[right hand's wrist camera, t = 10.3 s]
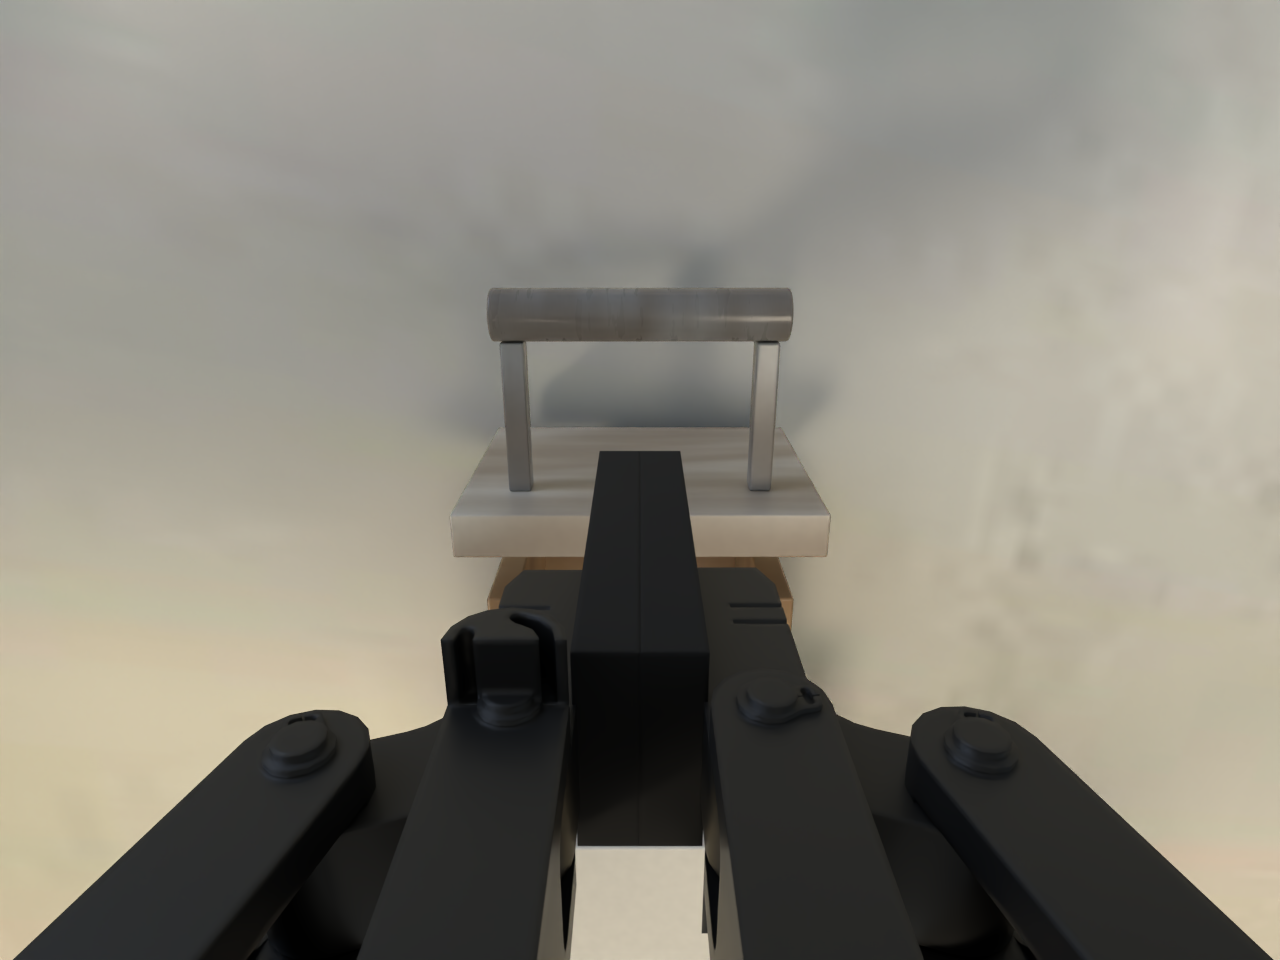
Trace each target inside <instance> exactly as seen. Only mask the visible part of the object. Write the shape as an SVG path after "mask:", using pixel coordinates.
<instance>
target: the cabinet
mask: <svg viewBox="0 0 1280 960" xmlns="http://www.w3.org/2000/svg"><path fill="white" fill-rule="evenodd" d="M575 859H576V884H577V885H576V897H575V909H574V920H573V932H572V944H571V955H570V960H710V954H709V942H708V933H702V909H703V884H704V859H705V845H704V834H703V845H702V846H578V845H577V838H576V849H575Z"/></svg>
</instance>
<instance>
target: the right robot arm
mask: <svg viewBox="0 0 1280 960" xmlns="http://www.w3.org/2000/svg"><path fill="white" fill-rule="evenodd" d="M441 647H442V656H443V665H444V674H445V684H446V693H447V702H448V706H447V709H446V711H445V714H444V717H443V718H442V719H440V720H438V721H436V722H434V723H431V724H429V725H427V726H425V727H421V728H418V729H415V730H411V731H408V732H404V733H399V734H395V735H390V736H386V737H381V738H376V739H372V740H370V736H369V730H368V728H367V727H366V726H365V725H364V723H363V722H362V721H361V720H360V719H359V718H358V717H356V716H354V715H351V714H348V713H345V712H342V711H339V710H313V711H308V712H303V713H298V714H293V715H289V716H287V717H285V718H282V719H280V720H278V721H275V722H273V723H271V724H268V725H266V726H264V727H263V728H261V729H260V730H259V731H257V732H256V733H255V734H253V735H252V736H250V737H249V738H248V739H246V740H245V741H244V742H243V743H242V744H240V745H239V746H238V747H237V748H236V749H235V750H234V751H233V752H232V753H231V754H230V755H229V756H228V757H227V758H226V759H225V760H224V761H222V762H221V763H220V764H219V765H218V766H217V767H216V768H215V769H214V770H213V771H212V772H211V773H210V774H209V775H208V776H207V777H206V778H205V779H203V780H202V781H201V782H200V783H199V784H198V785H197V786H196V787H195V788H194V789H193V790H192V791H191V792H190V793H189V794H188V795H187V796H186V797H184V798H183V799H182V800H181V801H180V802H179V803H178V804H177V805H176V806H175V807H174V808H173V809H172V810H171V811H170V812H169V813H168V814H166V815H165V816H164V817H163V818H162V819H161V820H160V821H159V822H158V823H157V824H156V825H155V826H154V827H153V828H152V829H151V830H150V831H149V832H147V833H146V834H145V835H144V836H143V837H142V838H141V839H140V840H139V841H138V842H137V843H136V844H135V845H134V846H133V847H132V848H131V849H129V850H128V851H127V852H126V853H125V854H124V855H123V856H122V857H121V858H120V859H119V860H118V861H117V862H116V863H115V864H114V865H113V866H112V867H110V868H109V869H108V870H107V871H106V872H105V873H104V874H103V875H102V876H101V877H100V878H99V879H98V880H97V881H96V882H95V883H94V884H92V885H91V886H90V887H89V888H88V889H87V890H86V891H85V892H84V893H83V894H82V895H81V896H80V897H79V898H78V899H77V900H76V901H75V902H73V903H72V904H71V905H70V906H69V907H68V908H67V909H66V910H65V911H64V912H63V913H62V914H61V915H60V916H59V917H58V918H57V919H55V920H54V921H53V922H52V923H51V924H50V925H49V926H48V927H47V928H46V929H45V930H44V931H43V932H42V933H41V934H40V935H39V936H38V937H36V938H35V939H34V940H33V941H32V942H31V943H30V944H29V945H28V946H27V947H26V948H25V949H24V950H23V951H22V952H21V953H20V954H18V955H17V956H16V957H15V958H14V959H13V960H570V955H571V944H572V932H573V920H574V909H575V897H576V885H577V884H576V859H575V849H576V838H577V845H578V846H702V845H703V834H704V845H705V859H704V884H703V909H702V933H708V942H709V954H710V960H1273V959H1272V958H1271V957H1270V956H1269V955H1268V954H1267V953H1266V952H1265V951H1263V950H1262V949H1261V948H1260V947H1259V946H1258V945H1257V944H1256V943H1255V942H1254V941H1253V940H1252V939H1251V938H1250V937H1249V936H1248V935H1246V934H1245V933H1244V932H1243V931H1242V930H1241V929H1240V928H1239V927H1238V926H1237V925H1236V924H1235V923H1234V922H1233V921H1232V920H1230V919H1229V918H1228V917H1227V916H1226V915H1225V914H1224V913H1223V912H1222V911H1221V910H1220V909H1219V908H1218V907H1217V906H1216V905H1214V904H1213V903H1212V902H1211V901H1210V900H1209V899H1208V898H1207V897H1206V896H1205V895H1204V894H1203V893H1202V892H1201V891H1200V890H1199V889H1197V888H1196V887H1195V886H1194V885H1193V884H1192V883H1191V882H1190V881H1189V880H1188V879H1187V878H1186V877H1185V876H1184V875H1183V874H1181V873H1180V872H1179V871H1178V870H1177V869H1176V868H1175V867H1174V866H1173V865H1172V864H1171V863H1170V862H1169V861H1168V860H1167V859H1166V858H1164V857H1163V856H1162V855H1161V854H1160V853H1159V852H1158V851H1157V850H1156V849H1155V848H1154V847H1153V846H1152V845H1151V844H1150V843H1148V842H1147V841H1146V840H1145V839H1144V838H1143V837H1142V836H1141V835H1140V834H1139V833H1138V832H1137V831H1136V830H1135V829H1134V828H1132V827H1131V826H1130V825H1129V824H1128V823H1127V822H1126V821H1125V820H1124V819H1123V818H1122V817H1121V816H1120V815H1119V814H1118V813H1117V812H1115V811H1114V810H1113V809H1112V808H1111V807H1110V806H1109V805H1108V804H1107V803H1106V802H1105V801H1104V800H1103V799H1102V798H1101V797H1099V796H1098V795H1097V794H1096V793H1095V792H1094V791H1093V790H1092V789H1091V788H1090V787H1089V786H1088V785H1087V784H1086V783H1085V782H1083V781H1082V780H1081V779H1080V778H1079V777H1078V776H1077V775H1076V774H1075V773H1074V772H1073V771H1072V770H1071V769H1070V768H1069V767H1068V766H1066V765H1065V764H1064V763H1063V762H1062V761H1061V760H1060V759H1059V758H1058V757H1057V756H1056V755H1055V754H1054V753H1053V752H1052V751H1050V750H1049V749H1048V748H1047V747H1046V746H1045V745H1044V744H1043V743H1042V742H1041V741H1040V740H1039V739H1038V738H1037V737H1035V736H1034V735H1032V734H1031V733H1030V732H1028V731H1027V730H1025V729H1024V728H1023V727H1021V726H1020V725H1019V724H1017V723H1016V722H1013V721H1011V720H1009V719H1006V718H1004V717H1002V716H999V715H997V714H995V713H992V712H989V711H984V710H980V709H975V708H970V707H965V706H964V707H940V708H937V709H934V710H932V711H929V712H926V713H923V714H922V715H921V716H920V717H919V718H918V719H917V721H916V722H915V723H914V724H913V725H912V730H911V736H910V737H909V736H905V735H900V734H896V733H891V732H886V731H882V730H877V729H873V728H870V727H866V726H863V725H859V724H856V723H853V722H851V721H849V720H847V719H845V718H843V717H841V716H838V715H837V714H836V713H835V710H834V708H833V705H832V703H831V701H830V700H829V698H828V697H827V696H826V694H825V693H824V691H823V690H822V689H821V688H819V687H818V686H816V685H815V684H814V683H812V682H811V681H809V680H808V679H806V676H805V673H804V670H803V667H802V664H801V661H800V658H799V655H798V652H797V649H796V646H795V643H794V640H793V636H792V633H791V630H790V627H789V624H787V618H786V615H785V612H784V609H783V607H782V603H781V600H780V597H779V594H778V591H777V588H776V585H775V584H774V583H773V582H772V581H771V580H770V579H769V578H768V577H766V576H765V575H764V574H763V573H762V572H761V571H760V570H758V569H757V568H756V567H697V561H696V554H695V548H694V541H693V534H692V527H691V520H690V513H689V507H688V500H687V493H686V486H685V479H684V472H683V466H682V459H681V452H680V451H600V452H599V459H598V466H597V472H596V479H595V486H594V493H593V500H592V507H591V513H590V520H589V527H588V534H587V541H586V548H585V554H584V561H583V568H582V570H523V571H522V572H521V573H520V574H519V575H518V576H517V577H515V578H514V579H513V580H512V581H511V582H510V583H509V584H507V585H506V586H505V588H504V591H503V594H502V597H501V600H500V603H499V609H491V610H487V611H484V612H481V613H477V614H474V615H471V616H468V617H466V618H465V619H463V620H461V621H460V622H458V623H456V624H455V625H453V626H452V627H450V629H449V630H448V631H447V633H446V634H445V635H444V636H443V638H442V639H441Z"/></svg>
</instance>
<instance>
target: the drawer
mask: <svg viewBox="0 0 1280 960" xmlns="http://www.w3.org/2000/svg"><path fill="white" fill-rule="evenodd" d="M487 322H488V330H489V334H490V337H491V339H492V341H502V342H501V343H500V357H501V372H502V387H503V402H504V418H505V428H499V429H498V430H497V432H496V434H495V436H494V438H493V439H492V441H491V443H490V445H489V447H488V448H487V450H486V452H485V454H484V455H483V457H482V459H481V461H480V463H479V464H478V466H477V468H476V470H475V472H474V473H473V475H472V477H471V479H470V481H469V482H468V484H467V486H466V488H465V489H464V491H463V493H462V495H461V497H460V498H459V500H458V502H457V504H456V506H455V507H454V509H453V511H452V513H451V515H450V524H451V535H452V545H453V555H454V557H502V560H501V563H500V565H499V568H498V571H497V574H496V577H495V579H494V582H493V585H492V588H491V590H490V593H489V596H488V599H487V605H488V610H491V609H499V603H500V600H501V597H502V594H503V591H504V588H505V586H506V585H507V584H509V583H510V582H511V581H512V580H513V579H514V578H515V577H517V576H518V575H519V574H520V573H521V572H522V571H523V570H582V568H583V561H584V554H585V548H586V541H587V534H588V527H589V520H590V513H591V507H592V500H593V493H594V486H595V479H596V472H597V466H598V459H599V452H600V451H680V452H681V459H682V466H683V472H684V479H685V486H686V493H687V500H688V507H689V513H690V520H691V527H692V534H693V541H694V548H695V554H696V561H697V567H756V568H757V569H758V570H760V571H761V572H762V573H763V574H764V575H765V576H766V577H768V578H769V579H770V580H771V581H772V582H773V583H774V584H775V585H776V588H777V591H778V594H779V597H780V600H781V603H782V607H783V609H784V612H785V615H786V618H787V624H789V627H790V630H791V625H792V612H793V600H794V599H793V597H792V594H791V591H790V588H789V586H788V583H787V580H786V577H785V575H784V572H783V569H782V566H781V564H780V561H779V558H778V557H826V556H827V550H828V539H829V529H830V518H831V516H830V513H829V512H828V510H827V508H826V506H825V505H824V503H823V501H822V499H821V498H820V496H819V494H818V492H817V490H816V489H815V487H814V485H813V483H812V482H811V480H810V478H809V476H808V474H807V473H806V471H805V469H804V467H803V466H802V464H801V462H800V460H799V458H798V457H797V455H796V453H795V451H794V450H793V448H792V446H791V444H790V442H789V441H788V439H787V437H786V435H785V434H784V432H783V430H782V428H780V427H775V419H776V404H777V389H778V373H779V358H780V343H779V342H778V341H788V340H789V337H790V335H791V331H792V324H793V297H792V293H791V290H790V289H789V288H492V289H490V290H489V293H488V298H487ZM526 341H754V355H753V374H752V393H751V412H750V427H614V428H531V424H530V405H529V386H528V368H527V349H526Z"/></svg>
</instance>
